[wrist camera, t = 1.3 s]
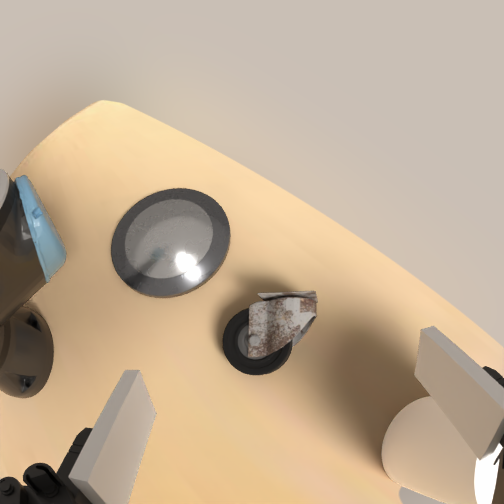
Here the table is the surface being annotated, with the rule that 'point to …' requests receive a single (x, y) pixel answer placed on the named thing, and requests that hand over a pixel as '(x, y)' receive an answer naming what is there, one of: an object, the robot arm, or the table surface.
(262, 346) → the caster wheel
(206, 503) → the table surface
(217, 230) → the carrier plate
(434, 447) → the canister
